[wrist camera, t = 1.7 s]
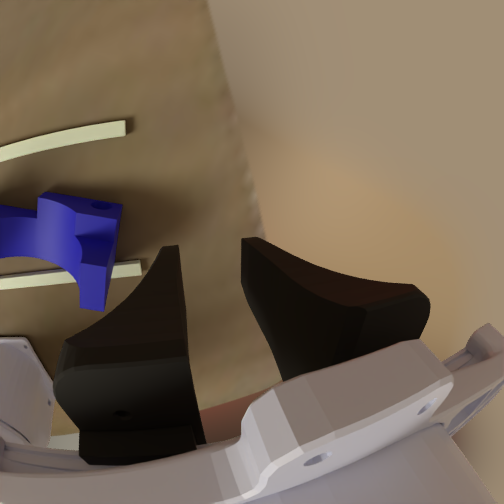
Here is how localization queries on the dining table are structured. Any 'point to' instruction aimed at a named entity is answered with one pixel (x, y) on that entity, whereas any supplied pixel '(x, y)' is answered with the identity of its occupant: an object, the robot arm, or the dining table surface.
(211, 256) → the dining table surface
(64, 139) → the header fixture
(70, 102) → the dining table surface
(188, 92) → the dining table surface
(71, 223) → the cable clip
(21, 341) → the robot arm
